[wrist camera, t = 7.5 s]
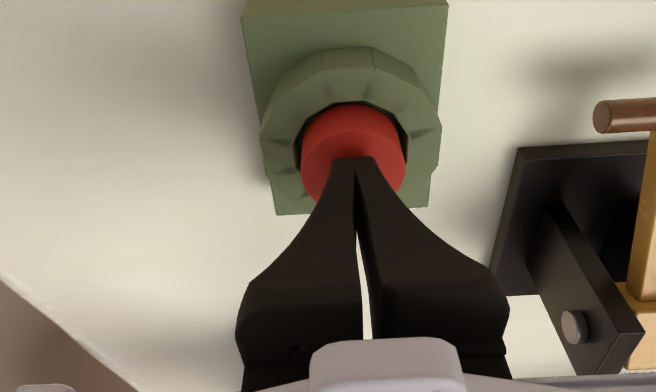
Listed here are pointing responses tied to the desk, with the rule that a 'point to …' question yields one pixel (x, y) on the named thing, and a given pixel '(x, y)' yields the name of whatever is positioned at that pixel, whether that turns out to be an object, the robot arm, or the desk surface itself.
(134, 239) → the desk surface
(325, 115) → the button
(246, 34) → the button block
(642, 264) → the lever
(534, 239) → the bracket
